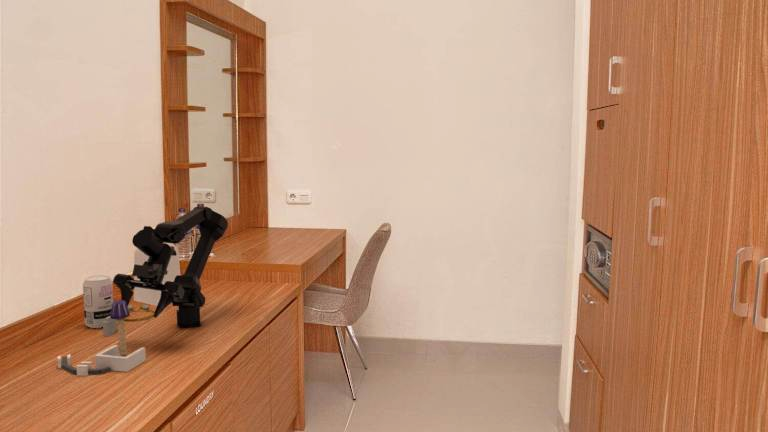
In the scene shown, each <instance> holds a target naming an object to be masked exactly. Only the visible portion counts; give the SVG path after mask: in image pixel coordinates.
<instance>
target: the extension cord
mask: <svg viewBox="0 0 768 432" xmlns="http://www.w3.org/2000/svg"><path fill="white" fill-rule="evenodd" d="M128 310H129V313H134V311H135V310H134V305H133V304H132V303H129V304H128ZM139 310H142V311H145V312H151V313H152V314H150V315H147V316H143V317H139V318H138V317H137V318H124V321H125V320H126V321H125V322H138V321H137V320H140V321H144V320H145V321H146V320H149V319H151V318H154V313H155V310H152V309H151V308H150V306H149V305H148V304H146V303H143V304H140V306H139Z"/></svg>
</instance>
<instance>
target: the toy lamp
mask: <svg viewBox="0 0 768 432" xmlns="http://www.w3.org/2000/svg"><path fill="white" fill-rule="evenodd" d="M130 316H131V312H129V310H128V307H127V305H126V302H125V301H124V300H120V299H119V300H115V301H114V300H113V304H112V309H111V314H110V318H111V319H116V328H117V334H118V337H117V338H118V350H119V351H120V352H119V356H121V357H126V356H128V352H127V349H128V347H127V340H126V330H125V329H126V328H125V320H124V318H125V319H127V318H128V317H130Z"/></svg>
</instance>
